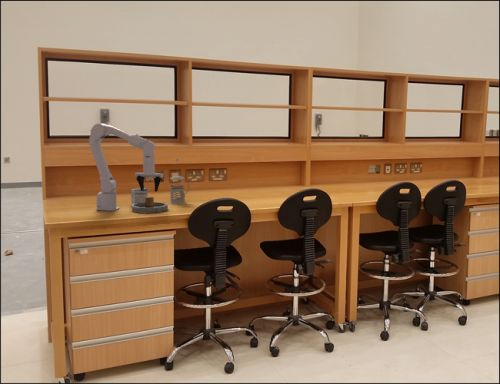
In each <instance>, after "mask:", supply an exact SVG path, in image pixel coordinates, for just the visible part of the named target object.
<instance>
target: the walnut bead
mask: <svg viewBox="0 0 500 384" xmlns="http://www.w3.org/2000/svg"><path fill="white" fill-rule="evenodd" d="M154 197H155V196H147V197H145V208H150V207H154V202H155V200H154Z"/></svg>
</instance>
